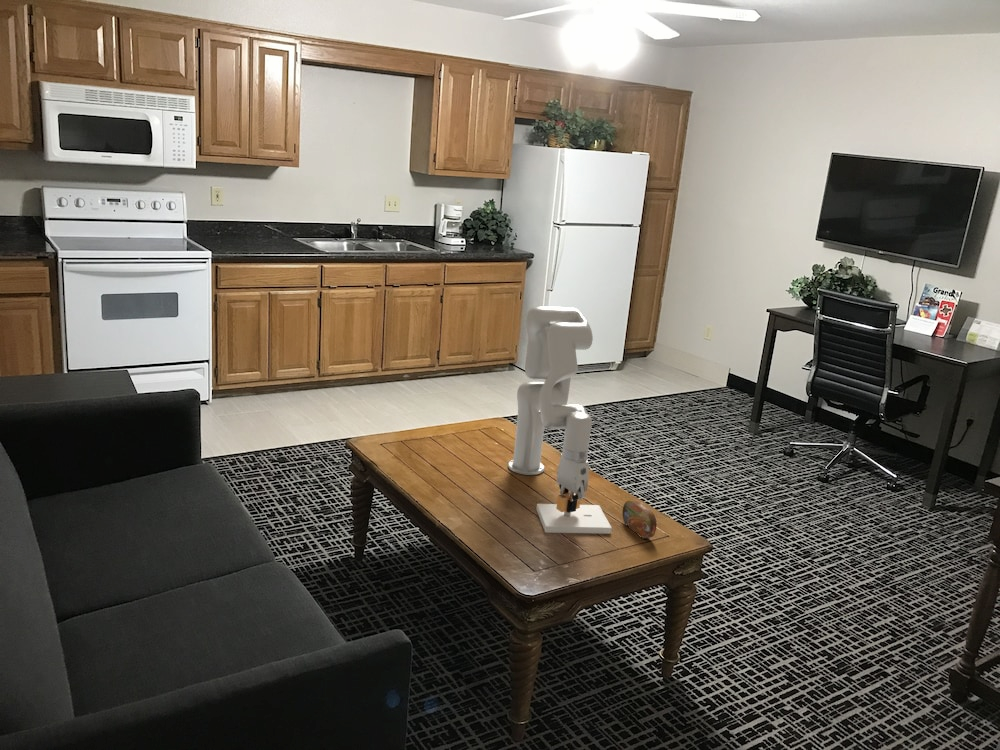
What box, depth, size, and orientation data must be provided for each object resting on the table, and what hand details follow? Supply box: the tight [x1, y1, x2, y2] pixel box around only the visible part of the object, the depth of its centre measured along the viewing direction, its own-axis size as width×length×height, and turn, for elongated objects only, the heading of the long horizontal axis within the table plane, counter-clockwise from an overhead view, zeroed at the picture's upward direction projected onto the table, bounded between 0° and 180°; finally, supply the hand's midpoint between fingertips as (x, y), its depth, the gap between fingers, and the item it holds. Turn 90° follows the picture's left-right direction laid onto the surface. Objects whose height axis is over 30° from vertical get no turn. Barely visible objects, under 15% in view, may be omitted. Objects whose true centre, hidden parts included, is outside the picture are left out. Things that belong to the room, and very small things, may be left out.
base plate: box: [536, 503, 612, 535], centre depth 245 cm, size 15×20×4 cm
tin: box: [622, 500, 658, 539], centre depth 242 cm, size 15×3×8 cm, turn 23°
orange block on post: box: [556, 493, 582, 512], centre depth 243 cm, size 7×2×5 cm, turn 123°
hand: (567, 508), depth 244 cm, fingers closed on orange block on post, 2 cm apart
